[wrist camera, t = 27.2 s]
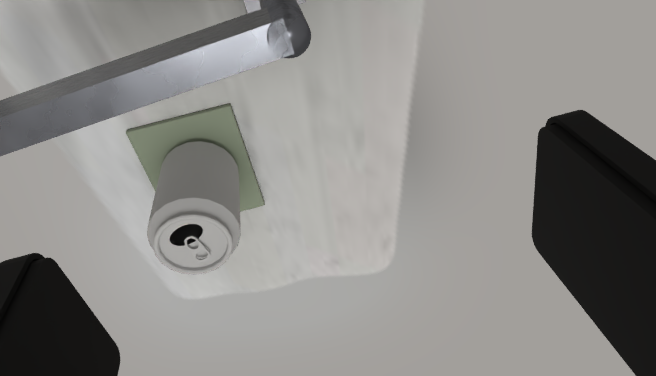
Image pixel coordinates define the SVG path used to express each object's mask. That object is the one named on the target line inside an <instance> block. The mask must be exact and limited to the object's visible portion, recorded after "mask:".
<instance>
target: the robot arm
mask: <svg viewBox="0 0 656 376" xmlns="http://www.w3.org/2000/svg"><path fill="white" fill-rule="evenodd" d="M532 238H533V242H534V245H535V247H536V249H537V250H538V252H539V253H540V254H541V256H542V257H543V258H544V260H545V261H546V262H547V263H548V265H549V266H550V267H551V268H552V270H553V271H554V272H555V273H556V275H557V276H558V277H559V279H560V280H561V281H562V282H563V284H564V285H565V286H566V287H567V289H568V290H569V291H570V292H571V294H572V295H573V296H574V298H575V299H576V300H577V301H578V303H579V304H580V305H581V306H582V308H583V309H584V310H585V312H586V313H587V314H588V315H589V316H590V318H591V319H592V320H593V322H594V323H595V324H596V325H597V327H598V328H599V329H600V331H601V332H602V333H603V334H604V336H605V337H606V338H607V339H608V341H609V342H610V343H611V344H612V346H613V347H614V348H615V349H616V351H617V352H618V353H619V355H620V356H621V357H622V358H623V360H624V361H625V362H626V363H627V365H628V366H629V367H630V368H631V369H632V371H633V372H634V373H635V375H636V376H656V160H654V159H653V158H652V157H650V156H649V155H647V154H646V153H644V152H643V151H642V150H640V149H639V148H637V147H636V146H634V145H633V144H632V143H630V142H629V141H627V140H626V139H624V138H623V137H622V136H620V135H619V134H617V133H616V132H614V131H613V130H612V129H610V128H609V127H607V126H606V125H605V124H603V123H602V122H600V121H599V120H597V119H596V118H595V117H593V116H592V115H590V114H589V113H587V112H586V111H583V110H577V111H573V112H570V113H566V114H562V115H558V116H554V117H551V118H549V119H548V121H547V123H546V126H545V127H543V128H541V129H540V131H539V133H538V145H537V160H536V176H535V192H534V207H533V223H532ZM119 365H120V353H119V350H118V347H117V345H116V343H115V342H114V341H113V339H112V338H111V337H110V335H109V334H108V332H107V331H106V330H105V328H104V327H103V326H102V324H101V323H100V322H99V320H98V319H97V318H96V316H95V315H94V313H93V312H92V311H91V309H90V308H89V307H88V305H87V304H86V303H85V301H84V300H83V298H82V297H81V296H80V294H79V293H78V292H77V290H76V289H75V287H74V286H73V285H72V283H71V282H70V281H69V279H68V278H67V277H66V275H65V274H64V272H63V271H62V270H61V268H60V267H59V266H58V264H57V263H56V262H55V261H54V260H53V259H51V258H44V257H43V256H42V255H40V254H38V253H32V254H28V255H25V256H21V257H17V258H13V259H9V260H6V261H3V262H1V263H0V376H117V375H118V370H119Z"/></svg>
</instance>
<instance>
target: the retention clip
mask: <svg viewBox="0 0 656 376" xmlns="http://www.w3.org/2000/svg"><path fill="white" fill-rule="evenodd" d="M259 3H260V8H261V9H260V10H257V11H254V12H251V13H248V14H245V15H242V16H240V17H237V18H234V19H231V20H228V21H225V22H223V23H220V24H217V25H214V26H211V27H208V28H205V29H203V30H200V31H197V32H194V33H191V34H188V35H186V36H183V37H180V38H177V39H174V40H171V41H168V42H166V43H163V44H160V45H157V46H154V47H151V48H149V49H146V50H143V51H140V52H137V53H134V54H131V55H129V56H126V57H123V58H120V59H117V60H114V61H112V62H109V63H106V64H103V65H100V66H97V67H94V68H92V69H89V70H86V71H83V72H80V73H77V74H75V75H72V76H69V77H66V78H63V79H60V80H57V81H55V82H52V83H49V84H46V85H43V86H40V87H38V88H35V89H32V90H29V91H26V92H23V93H20V94H18V95H15V96H12V97H9V98H6V99H3V100H1V101H0V156H3V155H5V154H8V153H11V152H14V151H17V150H19V149H23V148H26V147H28V146H31V145H34V144H37V143H40V142H43V141H46V140H48V139H51V138H54V137H57V136H60V135H63V134H66V133H69V132H71V131H74V130H77V129H80V128H83V127H86V126H89V125H92V124H94V123H97V122H100V121H103V120H106V119H109V118H112V117H115V116H117V115H120V114H123V113H126V112H129V111H132V110H135V109H138V108H140V107H143V106H146V105H149V104H152V103H155V102H158V101H161V100H163V99H166V98H169V97H172V96H175V95H178V94H181V93H183V92H186V91H189V90H192V89H195V88H198V87H201V86H204V85H206V84H209V83H212V82H215V81H218V80H221V79H224V78H227V77H229V76H232V75H235V74H238V73H241V72H244V71H247V70H250V69H252V68H255V67H258V66H261V65H264V64H267V63H270V62H273V61H275V60H278V59H281V58H294V57H297V56H299V55H301V54H302V53H304V52H305V51H306V49H307V48H308V46H309V44H310V40H311V32H310V28H309V26H308V24H307V22H306V20H305V18H304V16H303V13H302V11H301V9H300V7H299V5H298V3H297V1H296V0H259Z"/></svg>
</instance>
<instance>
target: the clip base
mask: <svg viewBox="0 0 656 376" xmlns="http://www.w3.org/2000/svg"><path fill="white" fill-rule="evenodd" d="M296 1H297V3H298V4H301V3H305V2H306V0H296ZM244 3H245V6H246V10H247V13H251V12H254V11H257V10H260V9H261V8H260V3H259V0H244Z"/></svg>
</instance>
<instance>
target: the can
mask: <svg viewBox="0 0 656 376" xmlns="http://www.w3.org/2000/svg"><path fill="white" fill-rule="evenodd" d="M240 235H241V234H240V195H239V172H238V166H237V164H236V162H235V160H234V159H233V157H232V156H231V155H230V154H229V153H228V152H227V151H226V150H225V149H223V148H221V147H219V146H217V145H215V144H213V143H207V142H202V141H198V142H188V143H185V144H182V145H180V146H177V147H176V148H174V149H173V150H172V151H171V152H170V153H168V154H167V156H166V158H165V159H164V161H163V163H162V166H161V171H160V175H159V179H158V184H157V188H156V193H155V197H154V201H153V206H152V210H151V215H150V219H149V224H148V231H147V236H148V240H149V243H150V246H151V247H152V248H153V250H154V252H155V255H156V257H157V258H158V259H159V260H160V262H161V263H162V264H164V265H165V266H167V267H168V268H169V269H171V270H174V271H177V272H180V273H184V274H202V273H207V272H210V271H213V270H215V269H217V268H219V267H220V266H221V265H223V264H224V263H225V262H226V261H227V259H228V258H229V257H230V255H231V254H232V253H233V251H234V250H235V249H236V247H237V246H238V243H239V239H240Z"/></svg>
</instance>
